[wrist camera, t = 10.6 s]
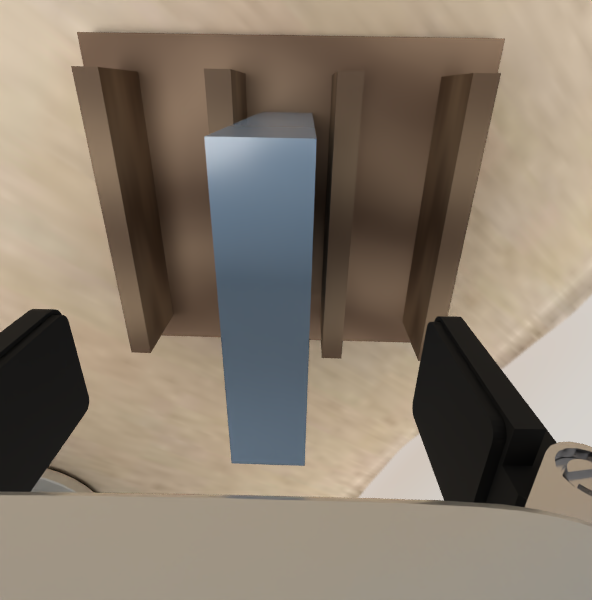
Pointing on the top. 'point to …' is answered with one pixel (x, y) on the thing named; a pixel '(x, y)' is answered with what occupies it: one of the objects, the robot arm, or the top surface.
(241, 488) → the top surface
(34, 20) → the top surface
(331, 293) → the rack
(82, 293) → the top surface
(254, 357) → the tile
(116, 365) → the top surface
